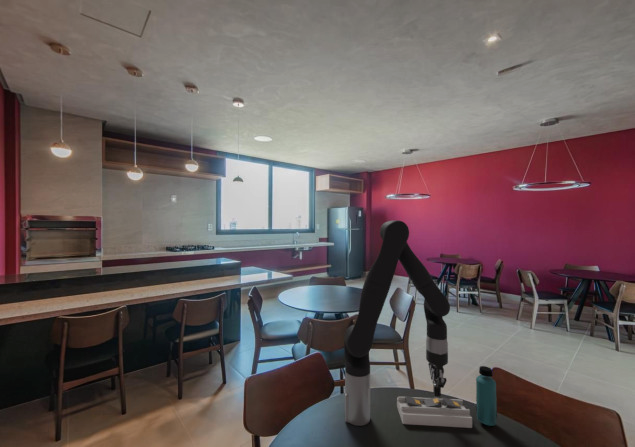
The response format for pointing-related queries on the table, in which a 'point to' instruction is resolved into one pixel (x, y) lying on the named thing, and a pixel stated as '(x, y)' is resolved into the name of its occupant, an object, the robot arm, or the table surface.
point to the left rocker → (413, 401)
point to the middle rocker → (432, 402)
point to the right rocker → (451, 403)
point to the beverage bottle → (486, 397)
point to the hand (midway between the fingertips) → (437, 395)
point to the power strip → (434, 414)
